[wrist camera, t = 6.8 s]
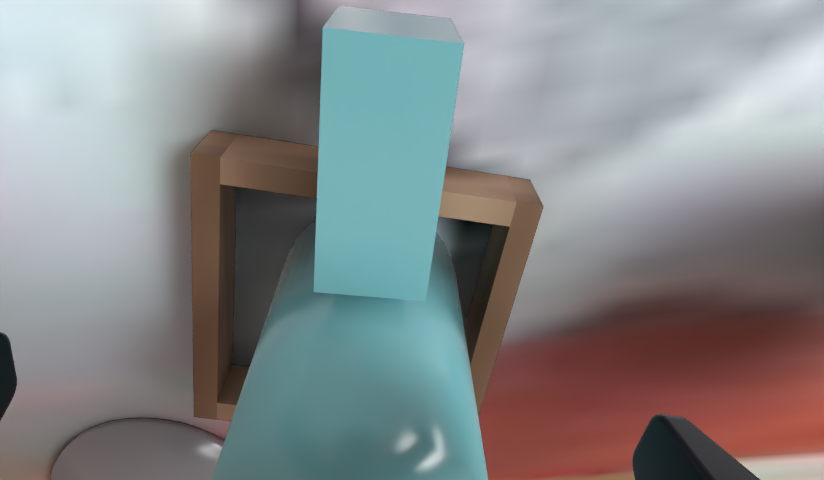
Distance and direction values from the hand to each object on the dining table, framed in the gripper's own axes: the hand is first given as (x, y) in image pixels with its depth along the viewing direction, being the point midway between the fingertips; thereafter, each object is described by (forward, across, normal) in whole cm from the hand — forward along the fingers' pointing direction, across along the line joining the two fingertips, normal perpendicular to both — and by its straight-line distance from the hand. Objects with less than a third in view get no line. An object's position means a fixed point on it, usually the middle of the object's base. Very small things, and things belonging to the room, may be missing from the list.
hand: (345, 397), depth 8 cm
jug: (+11, 0, +2) cm, 11 cm away
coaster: (+11, +7, +18) cm, 22 cm away
